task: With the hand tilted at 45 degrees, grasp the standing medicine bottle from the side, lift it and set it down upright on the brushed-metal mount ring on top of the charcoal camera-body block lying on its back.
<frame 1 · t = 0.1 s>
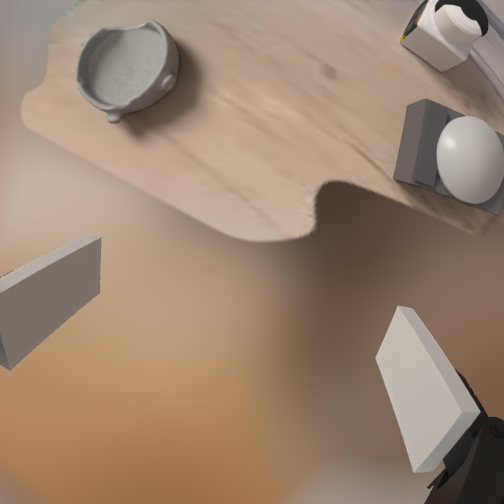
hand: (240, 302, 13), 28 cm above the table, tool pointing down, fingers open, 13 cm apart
dish: (135, 71, 36), on the table
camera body: (445, 158, 35), on the table
medicine bottle: (428, 41, 31), on the table
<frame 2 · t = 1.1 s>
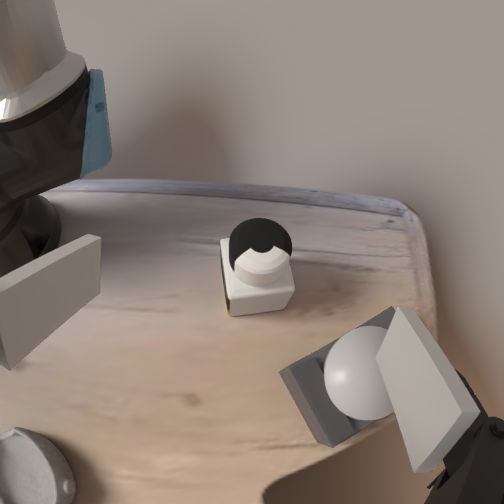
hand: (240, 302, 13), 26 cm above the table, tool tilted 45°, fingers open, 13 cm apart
dish: (37, 474, 26), on the table
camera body: (347, 379, 36), on the table
medicine bottle: (252, 287, 41), on the table
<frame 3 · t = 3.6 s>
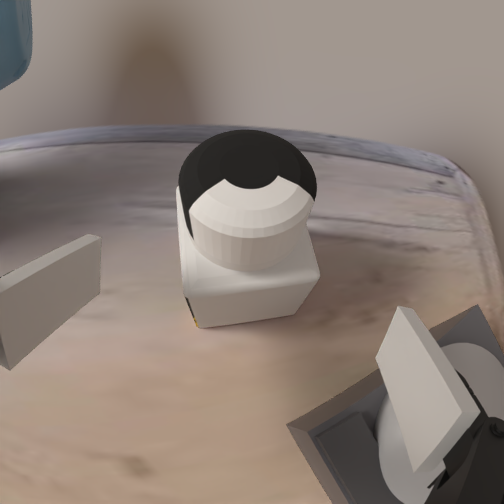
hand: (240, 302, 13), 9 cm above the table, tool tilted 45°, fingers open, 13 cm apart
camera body: (398, 427, 19), on the table
medicine bottle: (239, 277, 24), on the table
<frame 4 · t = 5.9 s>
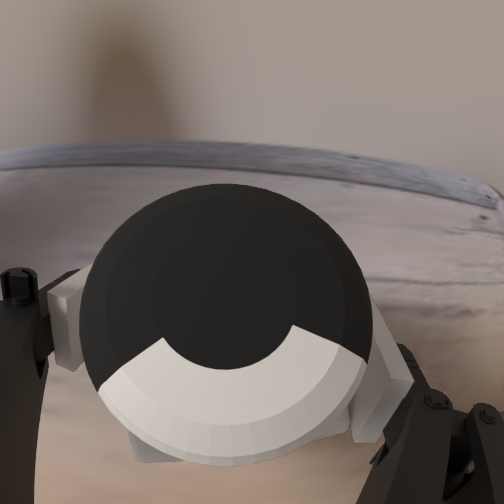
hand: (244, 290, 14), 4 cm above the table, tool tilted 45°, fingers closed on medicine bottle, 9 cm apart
medicine bottle: (227, 370, 16), on the table, touching gripper
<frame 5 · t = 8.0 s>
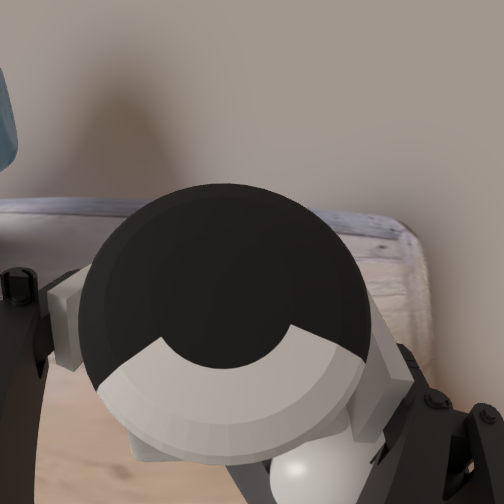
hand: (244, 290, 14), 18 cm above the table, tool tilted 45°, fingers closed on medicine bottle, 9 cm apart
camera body: (312, 458, 26), on the table
medicine bottle: (226, 370, 16), point 14 cm above the table, touching gripper
when the fingers open (13 cm above the table, at t = 10.1 s): medicine bottle drops 1 cm, resting on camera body.
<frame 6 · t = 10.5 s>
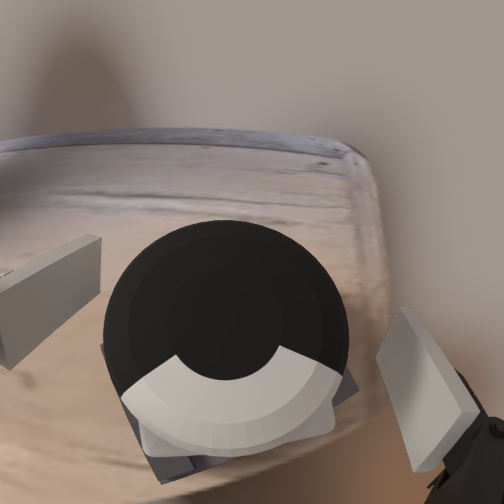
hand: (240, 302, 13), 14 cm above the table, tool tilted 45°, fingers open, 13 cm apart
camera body: (228, 381, 24), on the table
medicine bottle: (227, 374, 18), point 7 cm above the table, touching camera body
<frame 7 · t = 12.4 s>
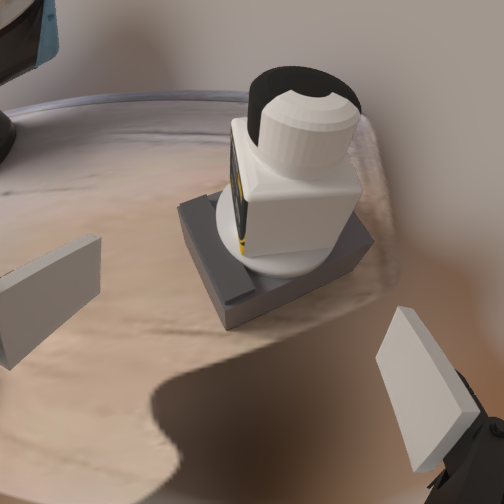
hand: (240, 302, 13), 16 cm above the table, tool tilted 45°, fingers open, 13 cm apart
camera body: (269, 256, 32), on the table
medicine bottle: (279, 215, 25), point 7 cm above the table, touching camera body
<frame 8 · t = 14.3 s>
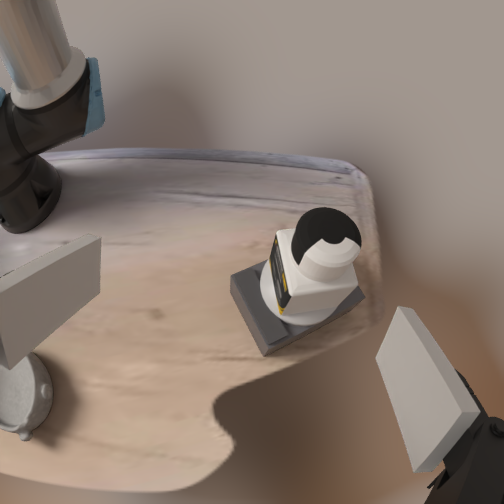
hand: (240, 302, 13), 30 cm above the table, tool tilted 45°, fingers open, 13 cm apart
dish: (21, 391, 35), on the table
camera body: (291, 302, 44), on the table
medicine bottle: (302, 284, 38), point 7 cm above the table, touching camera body
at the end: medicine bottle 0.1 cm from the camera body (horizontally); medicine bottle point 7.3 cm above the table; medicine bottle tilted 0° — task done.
